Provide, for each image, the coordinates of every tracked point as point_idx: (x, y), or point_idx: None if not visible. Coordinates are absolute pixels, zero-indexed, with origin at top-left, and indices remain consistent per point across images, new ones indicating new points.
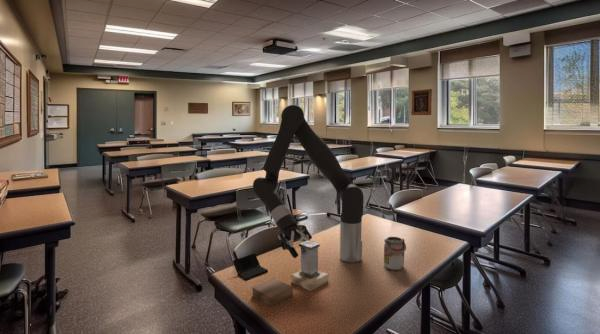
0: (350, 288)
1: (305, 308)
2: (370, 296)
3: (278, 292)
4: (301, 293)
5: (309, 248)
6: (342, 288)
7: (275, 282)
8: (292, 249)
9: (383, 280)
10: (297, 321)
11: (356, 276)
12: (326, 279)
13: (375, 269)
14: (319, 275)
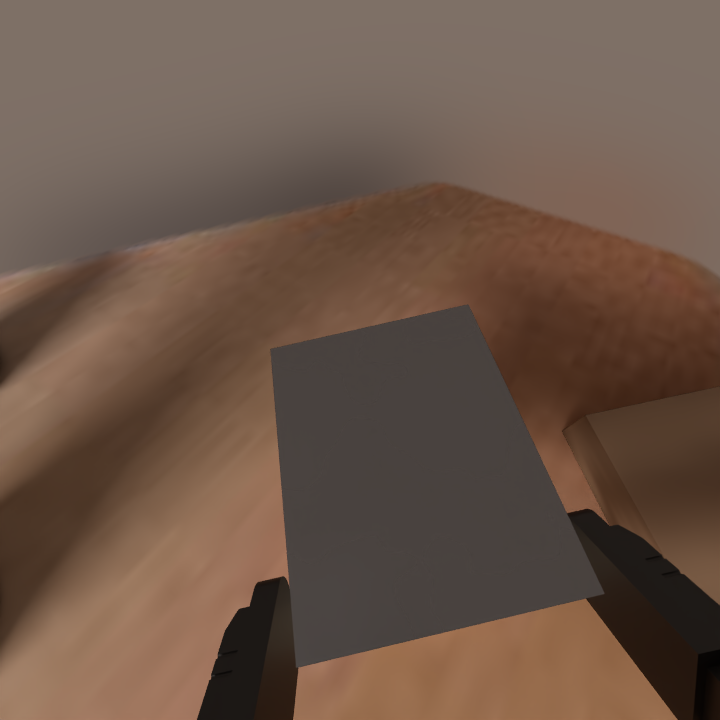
0: (276, 337)
1: (544, 310)
2: (269, 264)
3: (701, 404)
4: None
5: (474, 337)
6: None
7: (708, 546)
8: (701, 620)
9: (120, 319)
10: (608, 262)
11: (156, 407)
12: None
13: (25, 412)
14: None
